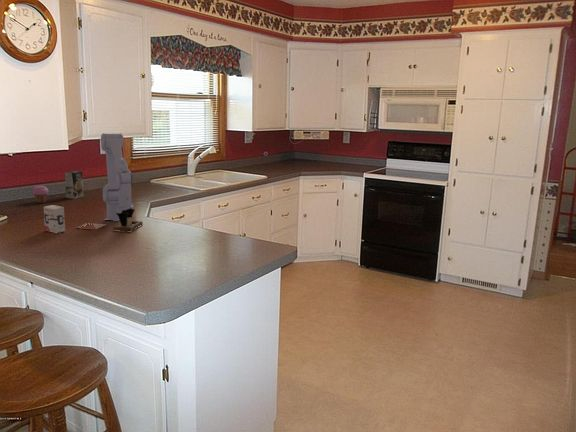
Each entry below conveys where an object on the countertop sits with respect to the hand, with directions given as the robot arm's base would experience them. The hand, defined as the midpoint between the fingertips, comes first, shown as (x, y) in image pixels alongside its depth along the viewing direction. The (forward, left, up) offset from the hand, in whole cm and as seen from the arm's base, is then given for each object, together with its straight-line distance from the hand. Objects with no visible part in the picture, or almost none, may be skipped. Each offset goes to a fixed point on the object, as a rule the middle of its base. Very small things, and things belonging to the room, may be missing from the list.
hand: (125, 224), depth 229 cm
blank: (0, 0, -2) cm, 2 cm away
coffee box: (-65, -63, -2) cm, 91 cm away
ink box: (+15, -27, -2) cm, 31 cm away
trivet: (+3, -16, -2) cm, 16 cm away
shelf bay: (0, 0, -2) cm, 2 cm away
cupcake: (-44, -72, -2) cm, 84 cm away
